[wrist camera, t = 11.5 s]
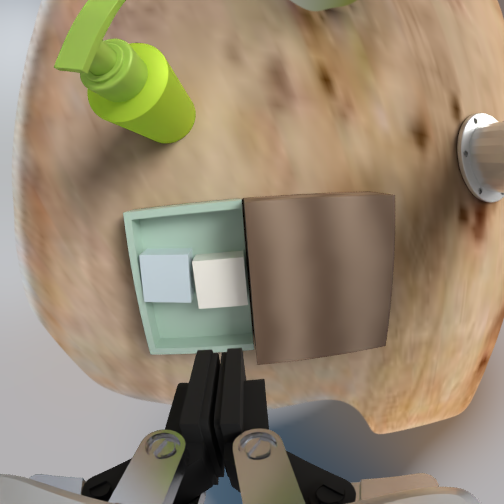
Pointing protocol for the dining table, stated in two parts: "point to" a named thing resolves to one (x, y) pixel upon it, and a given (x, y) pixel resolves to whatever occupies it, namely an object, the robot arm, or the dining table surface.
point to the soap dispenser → (125, 77)
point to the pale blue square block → (167, 275)
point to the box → (202, 242)
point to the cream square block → (220, 279)
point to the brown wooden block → (320, 273)
